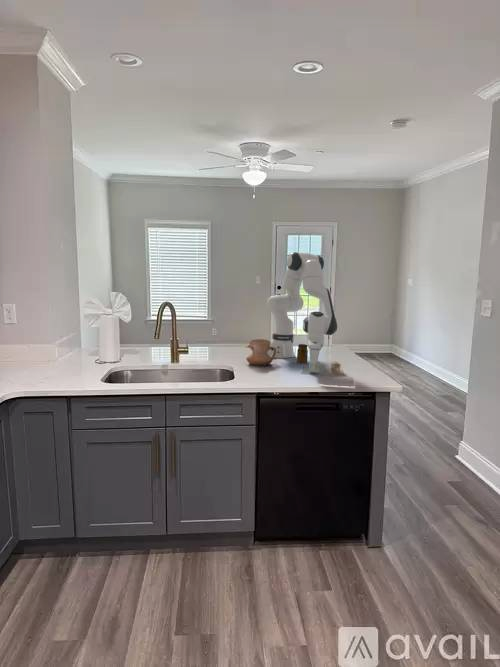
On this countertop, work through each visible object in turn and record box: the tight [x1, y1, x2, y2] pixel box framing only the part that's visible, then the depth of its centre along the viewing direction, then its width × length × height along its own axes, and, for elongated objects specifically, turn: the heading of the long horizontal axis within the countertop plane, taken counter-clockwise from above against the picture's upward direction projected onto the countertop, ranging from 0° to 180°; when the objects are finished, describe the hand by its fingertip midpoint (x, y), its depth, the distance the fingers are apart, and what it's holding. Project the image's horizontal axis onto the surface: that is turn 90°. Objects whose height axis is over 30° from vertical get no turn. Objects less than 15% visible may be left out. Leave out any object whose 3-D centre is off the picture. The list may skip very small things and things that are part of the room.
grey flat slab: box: [300, 366, 344, 378], centre depth 234 cm, size 22×15×1 cm
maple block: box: [330, 361, 342, 373], centre depth 233 cm, size 5×5×5 cm
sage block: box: [308, 360, 320, 373], centre depth 230 cm, size 5×5×5 cm
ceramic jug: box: [245, 338, 276, 367], centre depth 250 cm, size 18×14×14 cm
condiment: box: [296, 343, 309, 365], centre depth 252 cm, size 7×8×12 cm
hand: (314, 368), depth 230 cm, fingers closed on sage block, 5 cm apart
